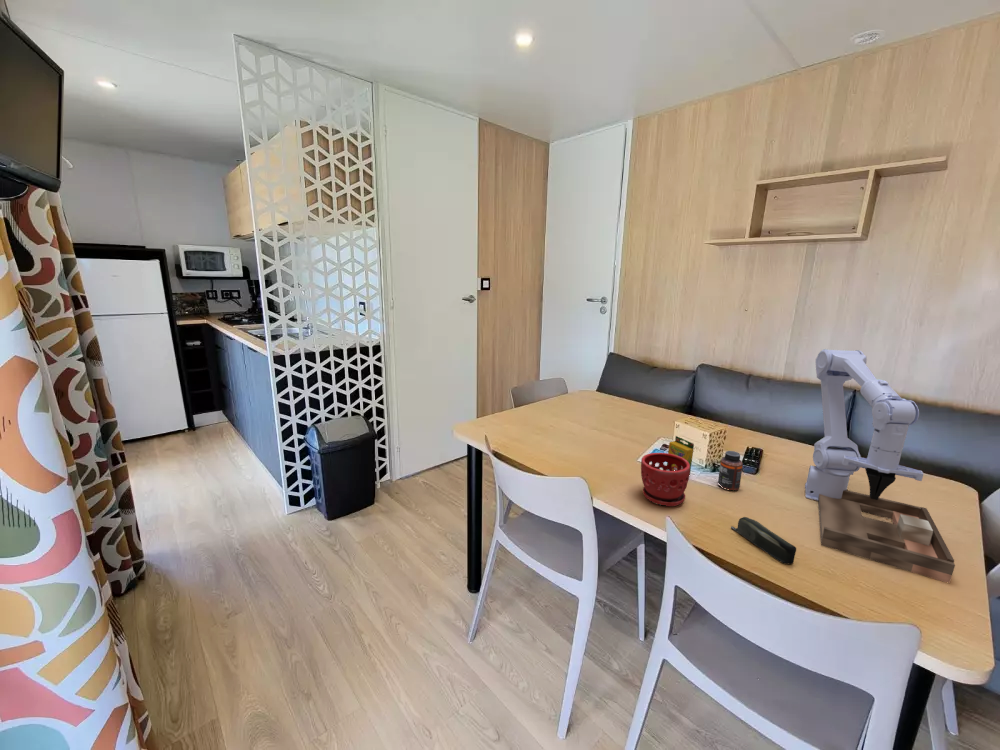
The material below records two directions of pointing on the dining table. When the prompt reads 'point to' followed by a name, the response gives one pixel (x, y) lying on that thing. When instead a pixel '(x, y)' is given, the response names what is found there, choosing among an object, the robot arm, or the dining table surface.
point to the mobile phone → (766, 540)
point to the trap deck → (882, 534)
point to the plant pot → (664, 478)
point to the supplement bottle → (730, 471)
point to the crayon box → (681, 451)
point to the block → (914, 529)
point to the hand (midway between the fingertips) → (873, 497)
